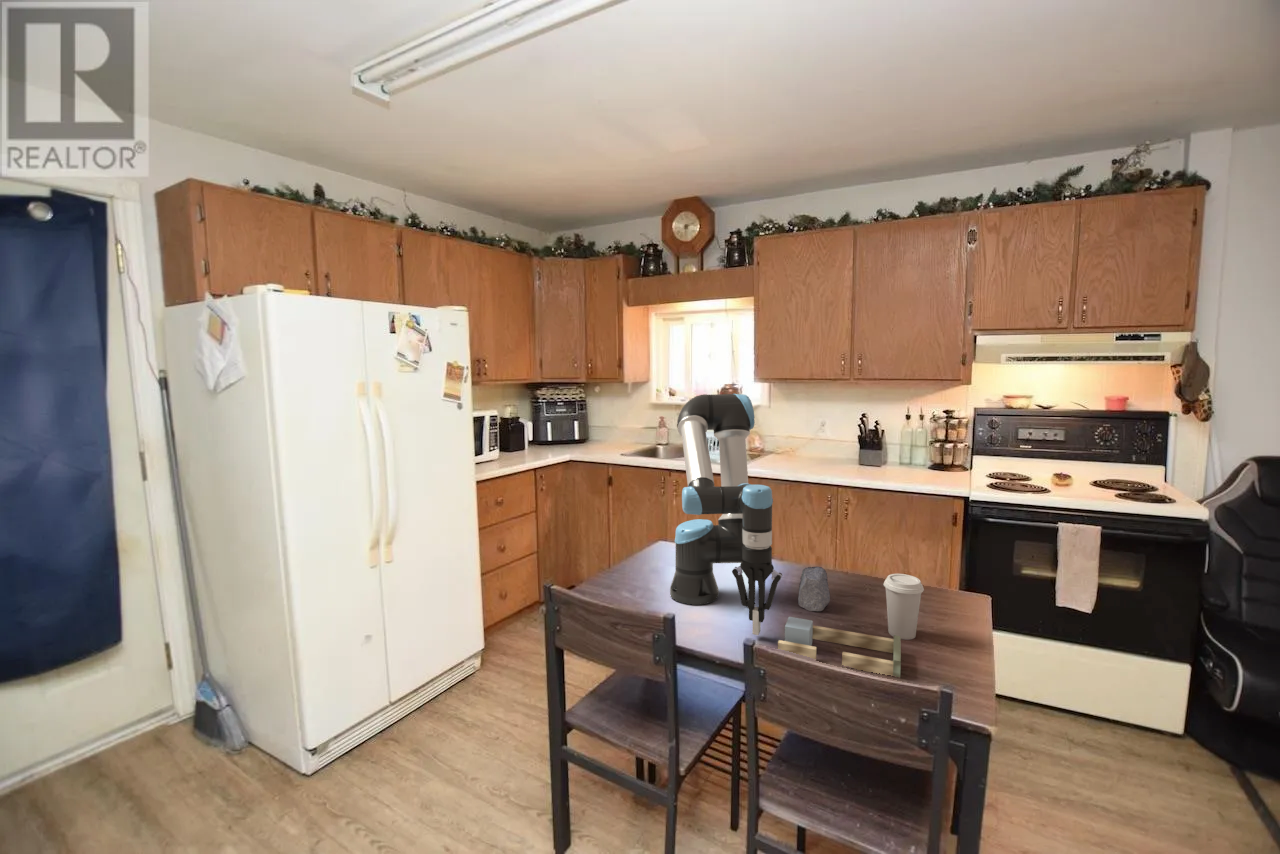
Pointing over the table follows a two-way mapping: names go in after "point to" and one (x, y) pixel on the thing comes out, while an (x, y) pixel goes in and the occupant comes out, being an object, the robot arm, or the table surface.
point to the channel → (858, 641)
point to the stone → (813, 589)
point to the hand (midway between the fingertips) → (756, 632)
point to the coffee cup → (903, 604)
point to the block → (799, 631)
